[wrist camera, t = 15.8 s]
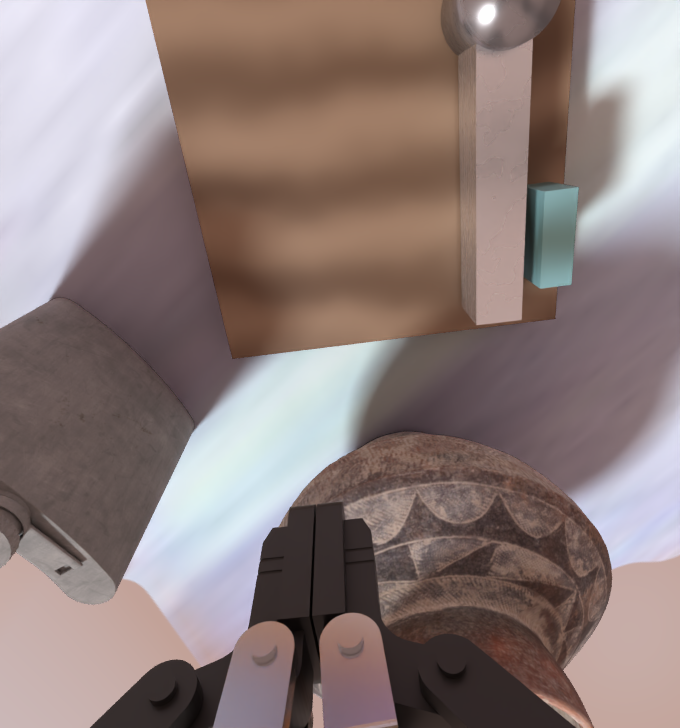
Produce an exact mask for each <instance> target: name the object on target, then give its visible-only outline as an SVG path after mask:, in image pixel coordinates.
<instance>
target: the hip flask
mask: <svg viewBox="0 0 680 728" xmlns="http://www.w3.org/2000/svg"><path fill="white" fill-rule="evenodd" d="M193 430H194V422H193V419H192V418H191V416H190V415H189V413H188V412H187V410H186V409H185V407H184V406H183V405H182V403H181V402H180V401H179V399H178V398H177V397H176V396H175V394H174V393H173V392H172V391H171V389H170V388H169V387H168V386H167V385H166V384H165V382H164V381H163V380H162V379H161V378H160V377H159V376H158V375H157V373H156V372H155V371H154V370H153V369H152V368H151V367H150V366H149V365H148V364H147V363H146V362H145V361H144V360H143V359H142V358H141V357H140V356H139V355H138V354H137V353H136V352H135V351H134V350H133V349H132V348H131V347H130V346H129V345H127V344H126V343H125V342H124V341H123V340H122V339H121V338H120V337H119V336H117V335H116V334H115V333H114V332H113V331H112V330H110V329H109V328H108V327H107V326H105V325H104V324H103V323H102V322H101V321H99V320H98V319H97V318H95V317H94V316H93V315H91V314H90V313H89V312H87V311H86V310H85V309H83V308H82V307H80V306H79V305H78V304H76V303H75V302H73V301H71V300H69V299H66V298H55V299H52V300H51V301H49V302H47V303H45V304H43V305H42V306H40V307H38V308H36V309H35V310H33V311H31V312H29V313H27V314H26V315H24V316H22V317H20V318H19V319H17V320H15V321H13V322H11V323H10V324H8V325H6V326H4V327H3V328H1V329H0V568H1V567H2V566H4V565H6V563H7V562H8V561H9V560H10V559H11V557H12V555H13V554H14V553H15V552H16V553H18V554H19V555H20V556H22V557H23V558H25V559H26V560H27V561H29V562H30V563H31V564H33V565H34V566H36V567H37V568H38V569H40V570H41V571H42V572H44V573H45V574H46V575H47V576H48V577H49V578H50V579H51V580H52V581H53V582H54V583H55V584H56V585H57V586H58V587H59V588H60V589H61V590H62V591H63V592H64V593H65V594H66V595H67V596H68V597H70V598H71V599H73V600H75V601H77V602H81V603H84V604H101V603H104V602H107V601H109V600H110V599H111V598H112V597H113V596H114V594H115V592H116V590H117V588H118V586H119V584H120V582H121V580H122V578H123V576H124V574H125V572H126V569H127V567H128V565H129V563H130V561H131V559H132V557H133V555H134V553H135V551H136V549H137V547H138V544H139V542H140V540H141V538H142V536H143V534H144V532H145V530H146V528H147V526H148V524H149V522H150V519H151V517H152V515H153V513H154V511H155V509H156V507H157V505H158V503H159V501H160V499H161V497H162V494H163V492H164V490H165V488H166V486H167V484H168V482H169V480H170V478H171V476H172V474H173V472H174V469H175V467H176V465H177V463H178V461H179V459H180V457H181V455H182V453H183V451H184V449H185V447H186V445H187V442H188V440H189V438H190V436H191V434H192V432H193Z"/></svg>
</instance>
